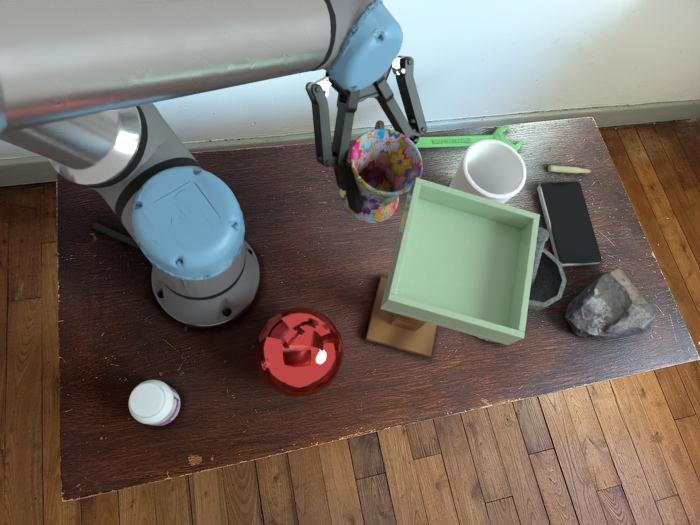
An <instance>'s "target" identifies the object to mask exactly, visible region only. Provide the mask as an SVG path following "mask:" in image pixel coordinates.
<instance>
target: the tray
mask: <svg viewBox="0 0 700 525" xmlns="http://www.w3.org/2000/svg"><path fill="white" fill-rule="evenodd" d="M540 217H541V214H539V213H535V212H532V211H529V210H526V209H522V208H519V207H516V206H513V205H509V204H506V203H504V204H503V203H499V202H496V201H493V200H489V199H486V198H483V197H480V196H476V195H473V194H470V193H466V192H463V191H460V190H456V189H453V188H450V187H449V186H446V185H443V184H439V183H437V182H434V181H429V180H426V179H422V178H416V179H415V181H414V183H413V184H412V186H411V188H410V190H409V191H408V192H407V194H406V198H405V203H404V207H403V211H402V215H401V218H400V219H401V220H400V223H399V228H398V233H397V235H396V236H397V237H396V241H395V246H394V249H393V253H392V258H391V262H390V265H389V271H388V274H387V277H386V278H387V283H386V287H385V291H384V295H383V300H382V304H381V308H380V309H382V310H386V311H389V312H393V313H396V314H400V315H403V316H407V317H410V318H414V319H417V320H421V321H424V322H428V323H431V324H435V325H437V327H438V326H439V327H442V328H446V329H449V330H453V331H455V332H460V333H463V334H466V335H469V336H474V337H477V338H478V337H480V338H479V339H481V338H484V339H483V340H485V339H487V340H491V341H494V342H493V343H495V342H498V343H501V344H500V345H506V346H510V345H512V344H514V343H517V342H519V341H521V340H524V339H525V333H526V326H527V318H528V310H529V309H528V303H529V296H530V288H531V280H532V273H533V265H534V257H535V249H536V242H537V234H538V227H540V226H539V225H540ZM498 343H497V344H498Z"/></svg>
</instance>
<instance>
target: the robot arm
mask: <svg viewBox="0 0 700 525" xmlns="http://www.w3.org/2000/svg"><path fill="white" fill-rule="evenodd" d="M403 33H404V32H403V29H402V27H401V25H400V23H399V22H398V21H397V19H396V18H395V17H394V16H393V14H392V13H391V12H390V10H389V9H388V8H387V7H386V6H385V4H384V1H383V0H0V140H1V141H3V142H6V143H8V144H11V145H13V146H16V147H18V148H20V149H23V150H27V151H29V152H31V153H33V154H36V155H39V156H41V157H45V158H47V159H48V161H49V162H50V164H51V166H52V167H53V169H54V170H55V171H56V172H57V174H59V175H60V176H61V177H63V178H64V179H65V180H67V181H69V182H71V183H74V184H76V185H80V186H82V187H84V188H88V189H91V190H94V191H95V192H97V193H98V194H99V195H100V196H101V197H102V198H103V200H104V201H105V202H106V203H107V205H108V207H109V208H110V209H111V210H112V212H113V213H114V215H115V216H116V217H117V219H118V220H119V221H120V223H121V224H122V226H123V228H125V230H126V231H127V232H128V234H129V235H130V236H127V235H125V234H122V233H120V232H118V231H116V230H113V229H111V228H109V227H107V226H104V225H103V224H100V223H98V222H94V223H93V224H92V226H91V227H92V229H93V230H96V231H98V232H100V233H101V234H104V235H107V236H109V237H111V238H113V239H116V240H118V241H120V242H122V243H124V244H128V245H130V246H132V247H134V248H137V249H139V250H141V252H142V253H143V255H144V256H145V257H146V258H147V260H148V261H149V262H150V264H151V265H152V267H151V268H152V269H151V277H150V278H151V279H150V280H151V288H152V291H153V294H154V296H155V299H156V301H157V302H158V305H160V307H161V308H162V310H164V312H165V313H166V314H167V315H168V316H169V317H171V318H172V319H173V320H174V321H176V322H178V323H180V324H182V325H185V326H187V327H190V328H195V329H214V328H215V329H216V328H218V327H219V328H220V327H222V326H226V325H228V324H230V323H232V322H234V321H236V320H237V319H239V318H240V317H241V316H242V315H244V313H246V312H247V311H248V309H249V308H250V307H251V306H252V304H253V302H255V299H256V297H257V295H258V291H259V287H260V283H261V282H260V281H261V275H260V274H261V272H260V271H261V270H260V264H259V261H258V257H257V255H256V253H255V251H254V250H253V248H252V247H251V245H250V244H249V243H248V242H247V241H246V240H245V234H246V233H245V232H246V227H245V220H244V214H243V211H242V209H241V206H240V203H239V202H238V199H237V198H236V196H235V194H234V193H233V191H232V190H231V188H230V187H229V186H228V185H227V184H226V183H225V182H224V181H223V180H222V179H221V178H219V177H218V176H217V175H215V174H213V173H212V172H209V171H207V170H206V169H205V170H204V169H203V167H202V166H201V165H200V163H199V162H198V160H197V159H196V158H195V157H194V155H193V154H192V153H191V152H190V150H189V149H188V148H187V146H186V145H185V144H184V142H183V141H182V140H181V139H180V137H179V136H178V134H177V133H176V132H175V131H174V130H173V128H172V127H171V125H169V123H168V122H167V121H166V120H165V118H164V117H163V115H162V114H161V112H160V111H159V109H158V108H157V106H156V105H155V104H154V103H159V102H164V101H169V100H174V99H179V98H185V97H189V96H194V95H200V94H204V93H209V92H214V91H218V90H224V89H230V88H234V87H239V86H244V85H249V84H253V83H254V84H255V83H259V82H263V81H269V80H274V79H278V78H284V77H288V76H293V75H298V74H299V75H300V74H302V73H303V74H304V73H309V72H316V71H320V70H321V71H322V70H324V71H325V75H324V76H323V77H322V78H320V79H317V80H316V81H314V82H312V81H308V82H307V83H306V84H305V86H304V87H305V88H304V89H305V91H306V94H307V96H308V98H309V101H310V102H311V112H312V113H311V114H312V124H313V125H312V126H313V136H314V145H315V146H314V147H315V157H316V158H315V159H316V162H317V163H319V164H320V165H322V166H324V167H326V168H330V167H332V168H333V171H334V176H335V181H336V185H337V187H338V188H339V190H340V189H342V190H343V191H345V192H346V196H347V201H348V206H349V208H350V209H352V210H353V211H354V212H356V213H357V214H358V213H361V212H363V211H362V206H361V201H360V196H359V191H358V186H357V183H356V180H355V177H354V173H353V171H352V168H351V164H350V161H348V157H349V151H350V145H351V139H352V138H351V137H352V132H353V125H354V119H355V113H357V110H358V106H359V103H362V102H364V101H365V100H367V99H369V98H370V99H375V100H376V101H377V102H378V104H379V106H380V108H381V109H382V111H383V112H384V115H385V116H386V118H387V120H388V121H389V123H390V125H391V127H392V128H393V130H395V131H397V132H399V133H401V134H403V135H405V136H406V137H408V138H409V139H410V140H411V141H412V142H413V143H414V144H417V143H418V142H419V137H421V135H425V134H426V133H427V132H428V126H427V122H426V118H425V116H424V110H423V107H422V103H421V99H420V96H419V92H418V89H417V85H416V81H415V78H414V71H415V70H414V68H415V67H414V66H415V61H414V60H415V59H414V58H413V57H412V56H408V55H399V54H400V51H401V48H402V46H403V42H404V34H403ZM391 72H392V73H393V75H395V80H396V81H395V82H396V85H397V88H398V92H399V95H400V98H401V102H402V107H403V109H404V112H405V114H404V112H403V111H402V109H401V107H400V106H399V104H398V102H397V99H396V98H395V97H394V92H393V90H392V88H391V86H390V85H389V82H388V78H389V76H390V73H391ZM330 87H331V88H333V89H334V90H335V91H336V92H337V100H336V109H337V111H336V116H335V117H336V118H335V123H334V130H333V137H332V134H331V122H330V121H331V119H330V108H329V102H328V98H329V96H330ZM405 115H406V116H405Z"/></svg>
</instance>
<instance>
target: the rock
mask: <svg viewBox="0 0 700 525" xmlns="http://www.w3.org/2000/svg"><path fill="white" fill-rule="evenodd" d="M656 315H657V314H656V312H655V310H653V308H652V307H651V305H650V303H649V302H648V301H647V300H646V299H645V298H644V297H643V295H642V294H641V293H640V291H639V290H638V289H637V287H636V286H635V285H634V284H633V283H632V281H631V280H630V279H629V277H628V276H627V275H626V274H625V272H624V271H623V270H622V268H620V267H619V268H618V267H617V268H616V269H614V270H612V271H609V272H607V273H604V274H601V275H599V277H597V278H596V280H594V281H593V282H592V283H591V284H589V285H588V286H586V287H585V288H584V289H583V290H582V291H581V293H579V294H578V295H576V297H574V299H572V300H571V301H570V302H569V303H568V304H567V306H566V310H565V315H564V319H565V320H566V321H567V322H568V325H569V326H570V327H571V330H572V332H573V334H574V335H576V336H578V337H579V338H580V337H581V338H584V339H586V338H596V339H597V338H599V339H615V338H623V337H631V336H635V335H636V336H643V335H644V334H645V333H646V332H647V331H649V330H650V329H651V328H652V326H653V324H654V321H655V319H656Z"/></svg>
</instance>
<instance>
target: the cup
mask: <svg viewBox="0 0 700 525" xmlns="http://www.w3.org/2000/svg"><path fill="white" fill-rule="evenodd" d="M526 180H527V168H526V163H525V161H524V160H523V158H522V156H521V155H520V154H519V153H518V151H516V150H515V149H513V148H512V147H511V146H509V145H508V144H506V143H504V142H502V141H499V140H494V139H484V140H480V141H477V142H475V143H473V144H471V145H470V146H467V149H466V150H465V151H464V154H463V156H462V158H461V160H460V162H459V165H458V167H457V169H456V171H455V173H454V175H453V177H452V179H451V181H450V184H449V185H448V187H450V188H453V189H456V190H460V191H463V192H466V193H470V194H473V195H476V196H480V197H483V198H486V199H489V200H493V201H496V202H499V203H503V204H506V203H507V202H508V201H510V200H511V199H512V198H513V197H515V196H516V195H517V194H518V193H520V192H521V190H522V189H523V188H524V186H525V183H526Z"/></svg>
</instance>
